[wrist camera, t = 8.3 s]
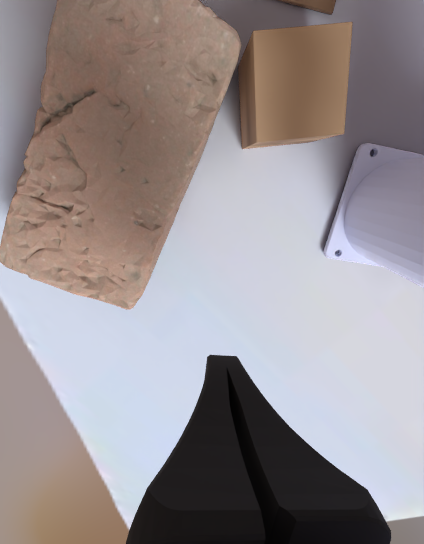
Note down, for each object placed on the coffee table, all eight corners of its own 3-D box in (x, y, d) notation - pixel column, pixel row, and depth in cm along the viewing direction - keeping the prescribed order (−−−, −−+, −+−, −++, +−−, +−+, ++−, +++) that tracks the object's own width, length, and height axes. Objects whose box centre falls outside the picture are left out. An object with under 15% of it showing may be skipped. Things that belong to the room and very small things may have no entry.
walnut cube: (311, 60, 16) (352, 21, 12) (308, 142, 18) (344, 133, 14) (237, 67, 16) (253, 30, 12) (241, 149, 18) (256, 142, 13)
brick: (104, -24, 14) (64, -108, 10) (241, 59, 16) (258, 19, 12) (36, 246, 19) (-10, 269, 15) (146, 288, 21) (132, 319, 17)
